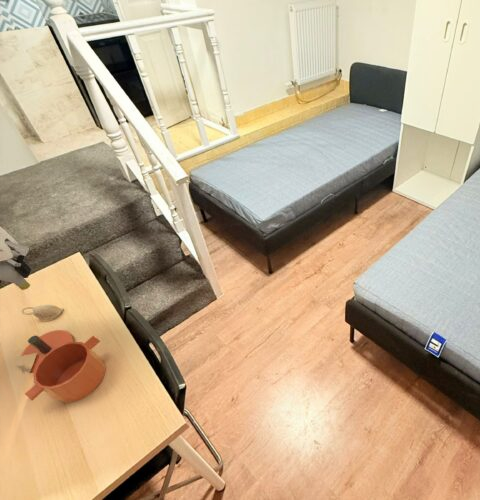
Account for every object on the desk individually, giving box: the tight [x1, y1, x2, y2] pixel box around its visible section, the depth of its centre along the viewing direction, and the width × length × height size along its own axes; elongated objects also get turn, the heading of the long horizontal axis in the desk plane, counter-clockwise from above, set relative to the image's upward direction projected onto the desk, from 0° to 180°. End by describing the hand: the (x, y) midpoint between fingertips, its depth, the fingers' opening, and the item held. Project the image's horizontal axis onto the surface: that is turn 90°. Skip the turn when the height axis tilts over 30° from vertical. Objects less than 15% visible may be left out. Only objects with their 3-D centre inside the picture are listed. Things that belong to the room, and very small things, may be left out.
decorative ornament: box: [20, 304, 64, 322], centre depth 102 cm, size 4×8×5 cm, turn 99°
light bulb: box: [0, 260, 31, 291], centre depth 85 cm, size 5×6×10 cm
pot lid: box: [21, 329, 74, 374], centre depth 93 cm, size 13×13×7 cm
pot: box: [24, 335, 106, 403], centre depth 86 cm, size 12×18×8 cm
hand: (14, 276), depth 85 cm, fingers closed on light bulb, 5 cm apart
